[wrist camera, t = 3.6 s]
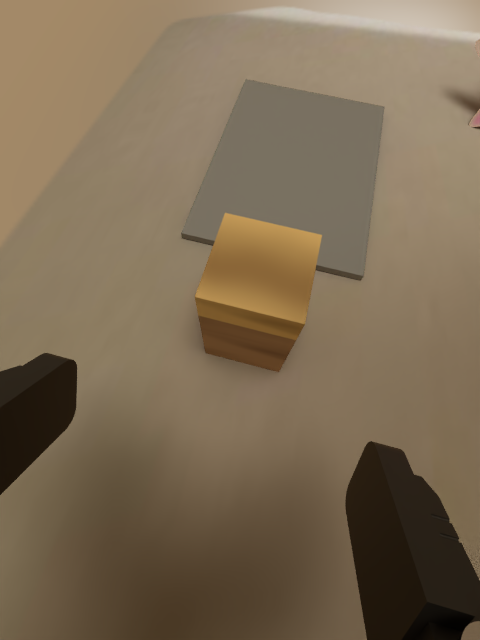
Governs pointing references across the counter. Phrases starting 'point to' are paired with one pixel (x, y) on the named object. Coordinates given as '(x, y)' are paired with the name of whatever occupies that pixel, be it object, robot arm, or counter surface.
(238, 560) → the counter surface
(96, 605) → the counter surface
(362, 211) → the mat
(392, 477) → the robot arm
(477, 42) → the lily
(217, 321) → the block
